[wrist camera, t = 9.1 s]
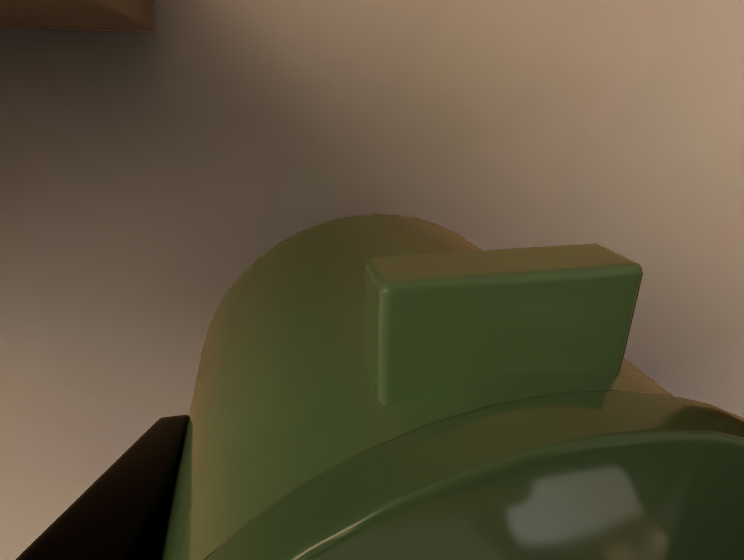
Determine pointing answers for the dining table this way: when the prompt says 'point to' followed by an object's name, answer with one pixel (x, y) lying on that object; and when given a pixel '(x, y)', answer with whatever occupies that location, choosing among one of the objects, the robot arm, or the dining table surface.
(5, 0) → the drawer
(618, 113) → the dining table surface
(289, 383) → the pot
